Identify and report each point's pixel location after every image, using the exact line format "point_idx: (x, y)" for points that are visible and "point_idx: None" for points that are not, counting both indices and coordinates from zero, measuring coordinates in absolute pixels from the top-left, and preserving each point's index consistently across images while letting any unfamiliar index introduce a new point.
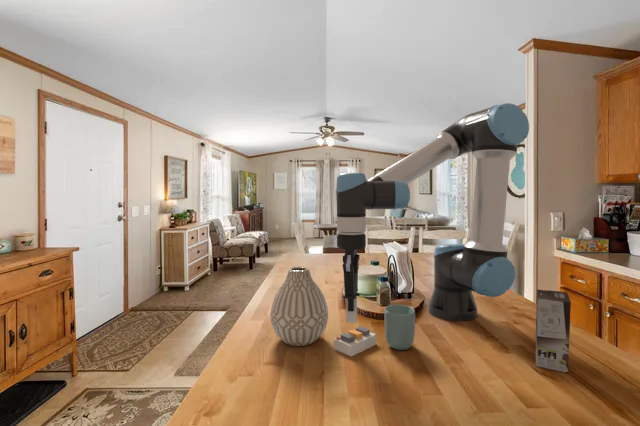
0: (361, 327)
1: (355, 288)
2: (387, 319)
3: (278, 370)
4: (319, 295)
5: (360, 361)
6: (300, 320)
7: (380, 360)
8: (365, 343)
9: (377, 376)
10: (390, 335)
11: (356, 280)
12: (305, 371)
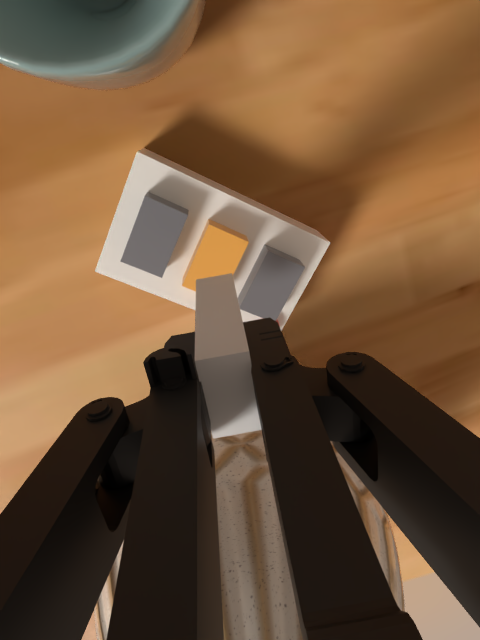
0: (136, 251)
1: (276, 418)
2: (184, 35)
3: (470, 418)
4: (275, 588)
5: (350, 176)
6: (386, 515)
7: (317, 81)
8: (227, 191)
9: (468, 60)
10: (198, 27)
11: (166, 495)
12: (465, 344)
